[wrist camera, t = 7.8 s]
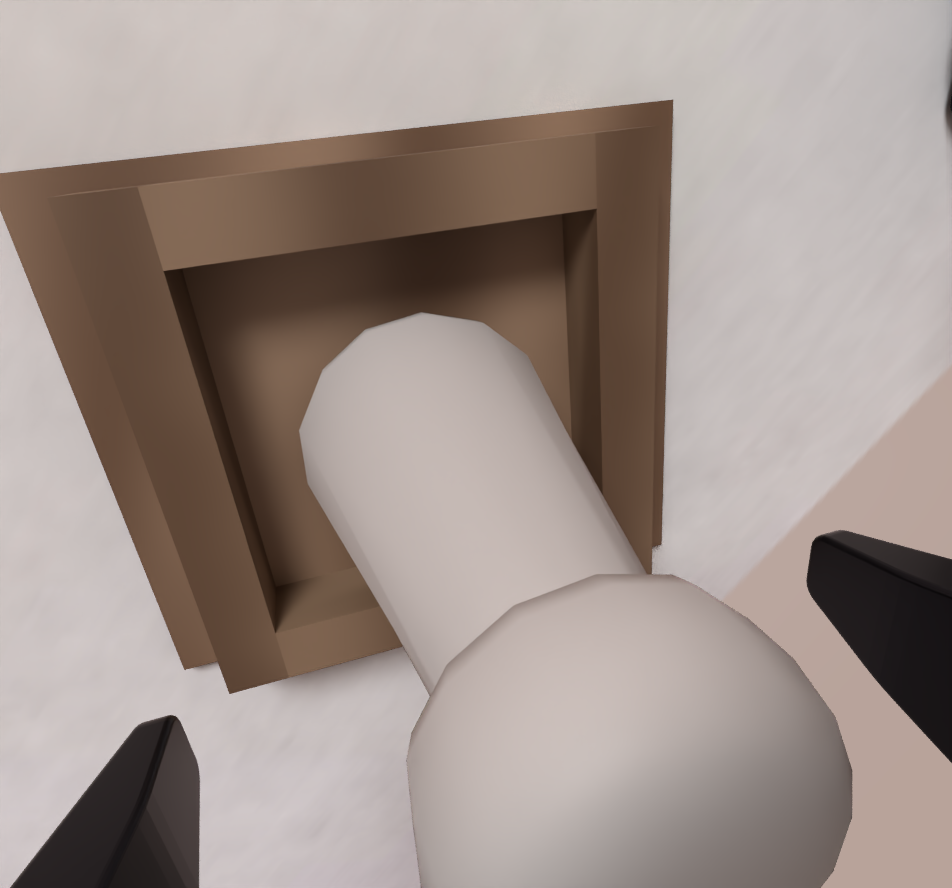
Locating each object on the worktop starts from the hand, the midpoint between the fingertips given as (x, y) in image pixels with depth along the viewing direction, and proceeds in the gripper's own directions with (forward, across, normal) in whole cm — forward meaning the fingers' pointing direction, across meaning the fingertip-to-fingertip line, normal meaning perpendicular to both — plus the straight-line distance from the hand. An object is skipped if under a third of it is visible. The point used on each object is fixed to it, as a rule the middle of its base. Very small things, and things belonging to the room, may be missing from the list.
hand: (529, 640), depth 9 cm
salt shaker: (+10, 0, 0) cm, 10 cm away
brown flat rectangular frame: (+10, 0, 0) cm, 10 cm away
